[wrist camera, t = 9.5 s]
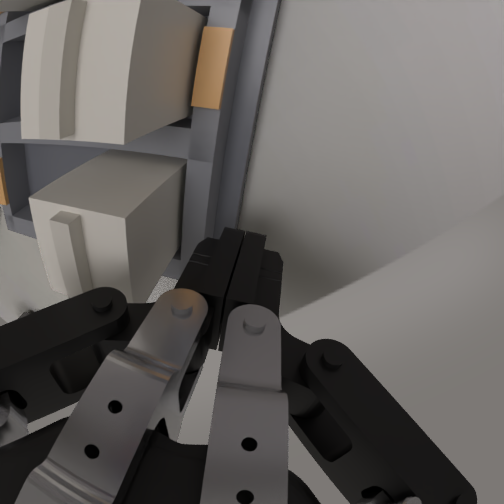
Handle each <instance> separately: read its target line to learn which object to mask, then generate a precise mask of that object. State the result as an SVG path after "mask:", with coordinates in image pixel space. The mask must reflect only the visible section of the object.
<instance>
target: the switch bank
mask: <svg viewBox="0 0 504 504" xmlns="http://www.w3.org/2000/svg"><path fill="white" fill-rule="evenodd" d="M64 1H66V0H64ZM177 1H179V2H181V3H182V4H184V5H186V6H188V7H189V8H191V9H193V10H194V11H196V12H198V13H199V14H201V15H203V16H204V17H206V18H207V19H208V23H207V26H204V29H203V34H202V39H201V45H200V50H199V56H198V62H197V68H196V75H195V81H194V88H193V95H192V102H191V106H194V107H193V115H191V116H188V117H186V118H183V119H181V120H178V121H176V122H173V123H171V124H169V125H166V126H164V127H162V128H159V129H157V130H155V131H152V132H150V133H148V134H146V135H144V136H141V137H139V138H137V139H135V140H133V141H131V142H129V143H127V144H125V145H121V144H111V143H100V142H87V141H71V140H48V139H22V137H21V74H22V61H23V51H24V43H25V36H26V29H27V23H28V18H29V14H31V13H33V12H36V11H38V10H41V9H44V8H47V7H49V6H51V5H49V6H46V7H44V8H41V9H38V10H36V11H9V12H0V204H2V206H3V211H4V215H5V219H6V223H7V227H8V230H11V231H14V232H17V233H20V234H23V235H26V236H29V237H32V238H35V239H37V237H36V233H35V228H34V224H33V219H32V214H31V209H30V204H29V197H30V196H32V195H33V194H35V193H36V192H38V191H39V190H41V189H42V188H44V187H45V186H47V185H48V184H50V183H52V182H53V181H55V180H56V179H58V178H60V177H61V176H63V175H65V174H66V173H68V172H70V171H72V170H73V169H75V168H77V167H78V166H80V165H82V164H84V163H86V162H87V161H89V160H91V159H93V158H95V157H97V156H99V155H101V154H102V153H104V152H106V151H108V150H110V149H116V150H125V151H134V152H142V153H150V154H157V155H164V156H171V157H178V158H184V159H187V170H186V181H185V194H184V208H183V224H182V243H181V245H180V246H179V248H178V250H177V251H176V253H175V255H174V256H173V258H172V259H171V261H170V263H169V264H168V266H167V268H166V269H165V271H164V273H163V274H162V276H165V277H169V278H173V279H177V280H179V278H180V276H181V274H182V272H183V270H184V269H185V267H186V265H187V263H188V262H189V259H190V257H191V255H192V254H193V252H194V250H195V248H196V246H197V244H198V243H199V242H201V241H202V240H204V239H206V238H207V237H210V238H214V239H220V236H221V234H222V232H223V230H224V228H225V227H229V228H234V229H237V226H238V220H239V214H240V209H241V203H242V197H243V192H244V186H245V180H246V175H247V169H248V164H249V158H250V153H251V148H252V142H253V137H254V132H255V126H256V121H257V116H258V111H259V105H260V100H261V95H262V90H263V85H264V80H265V75H266V70H267V65H268V60H269V55H270V50H271V45H272V41H273V36H274V31H275V26H276V22H277V17H278V12H279V8H280V3H281V0H177ZM61 2H63V1H61ZM58 3H60V2H58ZM55 4H57V3H55ZM52 5H54V4H52Z"/></svg>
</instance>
